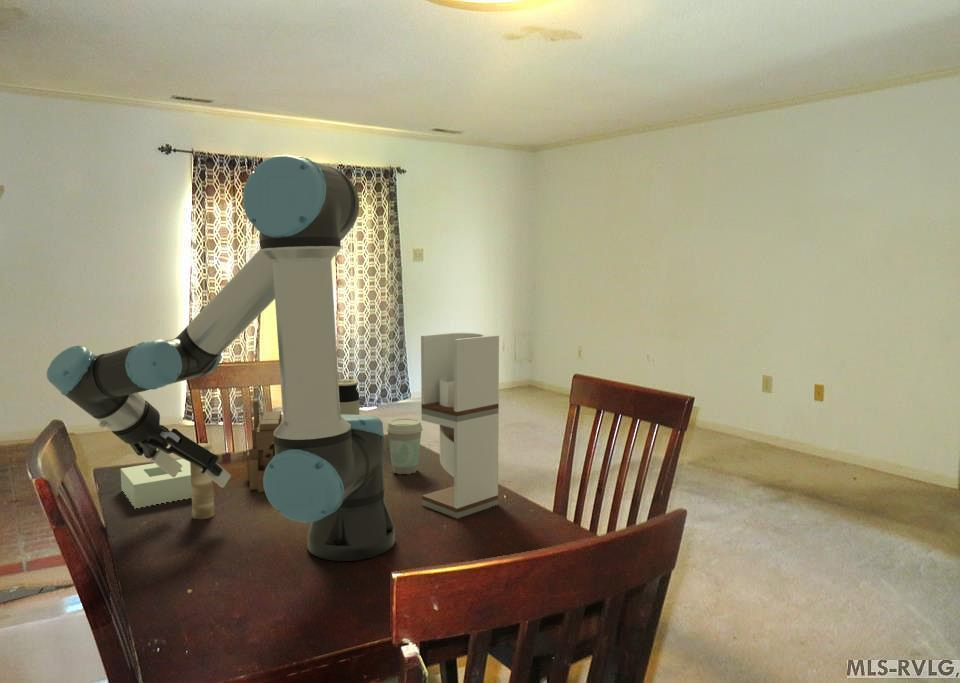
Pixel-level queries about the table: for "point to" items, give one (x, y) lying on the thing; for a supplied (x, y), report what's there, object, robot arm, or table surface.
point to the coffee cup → (404, 444)
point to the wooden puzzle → (261, 445)
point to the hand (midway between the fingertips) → (201, 476)
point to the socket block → (155, 484)
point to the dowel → (202, 491)
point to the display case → (463, 417)
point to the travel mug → (348, 397)
